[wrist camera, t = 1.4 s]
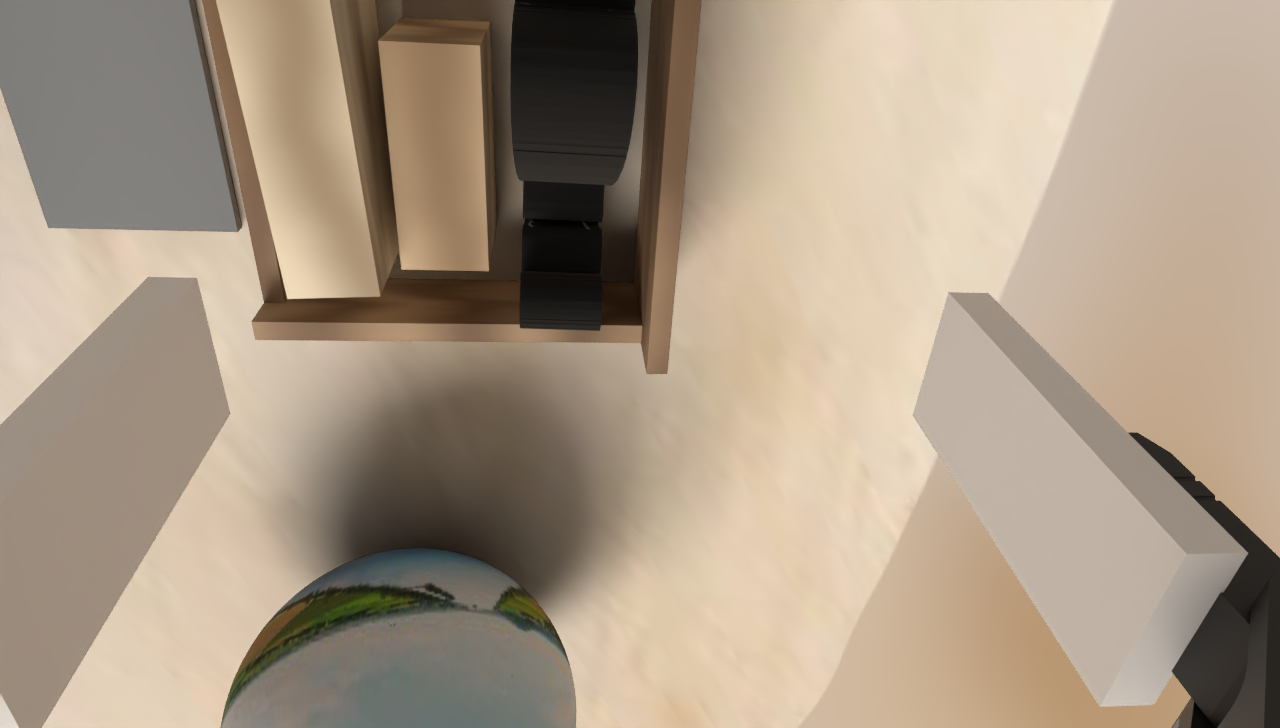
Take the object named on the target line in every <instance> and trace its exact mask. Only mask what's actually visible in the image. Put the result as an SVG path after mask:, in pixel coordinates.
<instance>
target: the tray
mask: <svg viewBox="0 0 1280 728" xmlns="http://www.w3.org/2000/svg"><path fill="white" fill-rule="evenodd" d="M202 1H203V6H204V11H205V16H206V21H207V26H208V31H209V36H210V40H211V45H212V50H213V55H214V60H215V65H216V70H217V75H218V80H219V84H220V89H221V94H222V99H223V104H224V109H225V114H226V119H227V124H228V128H229V133H230V138H231V143H232V148H233V153H234V158H235V163H236V168H237V172H238V177H239V182H240V187H241V192H242V197H243V202H244V207H245V212H246V216H247V221H248V226H249V231H250V236H251V241H252V246H253V251H254V256H255V260H256V265H257V270H258V275H259V280H260V285H261V290H262V295H263V300H264V304H263V305H262V307H261V308H260V310H259V311H258V313H257V314H256V316H255V317H254V319H253V320H252V326H253V331H254V336H255V340H343V341H475V342H608V343H641V345H642V351H643V356H644V362H645V368H646V373H647V374H667V370H668V359H669V348H670V337H671V326H672V315H673V304H674V293H675V282H676V272H677V261H678V250H679V239H680V228H681V217H682V206H683V195H684V184H685V173H686V162H687V152H688V141H689V130H690V119H691V108H692V97H693V86H694V75H695V64H696V53H697V42H698V31H699V21H700V10H701V0H652V3H651V19H650V35H649V51H648V67H647V84H646V100H645V116H644V132H643V148H642V164H641V180H640V196H639V212H638V228H637V244H636V261H635V277H634V283H624V282H602V285H603V293H602V319H601V328H600V331H586V330H555V329H524V328H520V323H519V322H520V321H519V308H520V281H495V280H431V279H387V282H386V284H385V286H384V289H383V291H382V294H381V296H380V297H344V298H306V299H287V295H286V291H285V287H284V283H283V278H282V274H281V270H280V266H279V262H278V258H277V253H276V249H275V245H274V241H273V237H272V233H271V228H270V224H269V220H268V216H267V212H266V207H265V203H264V199H263V195H262V191H261V187H260V182H259V178H258V174H257V170H256V166H255V162H254V157H253V153H252V149H251V145H250V141H249V136H248V132H247V128H246V124H245V120H244V116H243V111H242V107H241V103H240V99H239V95H238V91H237V86H236V82H235V78H234V74H233V70H232V65H231V61H230V57H229V53H228V49H227V45H226V40H225V36H224V32H223V28H222V24H221V20H220V15H219V11H218V7H217V3H216V0H202Z"/></svg>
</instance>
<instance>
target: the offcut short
mask: <svg viewBox="0 0 1280 728" xmlns="http://www.w3.org/2000/svg"><path fill="white" fill-rule="evenodd" d="M378 44H379V54H380V64H381V74H382V84H383V94H384V104H385V114H386V123H387V133H388V143H389V153H390V163H391V173H392V183H393V192H394V202H395V212H396V222H397V232H398V242H399V252H400V262H401V270H449V271H489V268H490V262H491V256H492V250H493V244H494V238H495V231H496V225H497V216H496V186H495V156H494V125H493V95H492V65H491V34H490V22H485V21H465V20H446V19H426V18H406V17H402V18H401V19H400V20H399V21H398V22H397V23H396V24H395V25H394V26H393V27H392V28H391V29H390V30H389V31H388V32H386V33H385V34H384V35H383V36H382V37H381V38H380V39H379V40H378Z"/></svg>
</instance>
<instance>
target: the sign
mask: <svg viewBox="0 0 1280 728" xmlns="http://www.w3.org/2000/svg"><path fill="white" fill-rule="evenodd" d="M635 1H636V0H515V4H514V14H513V24H512V43H511V125H512V142H513V153H514V162H515V167H516V172H517V175H518V178H519V180H521V181H524V186H523V218H525V223H524V225H523V238H522V271H521V278H520V308H519V321H520V322H519V323H520V328H524V329H555V330H586V331H600V328H601V319H602V293H603V285H602V274H600V272H601V248H602V230H601V228H600V227H599V226H598V222H602V219H603V201H604V185H613V184H614V183H615V182H616V181H617V180H618V178H619V176H620V173H621V171H622V169H623V166H624V163H625V160H626V156H627V152H628V147H629V143H630V138H631V132H632V126H633V118H634V111H635V101H636V89H637V72H638V36H637V24H636V17H635V12H634V7H635Z"/></svg>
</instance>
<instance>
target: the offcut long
mask: <svg viewBox="0 0 1280 728" xmlns="http://www.w3.org/2000/svg"><path fill="white" fill-rule="evenodd" d="M216 3H217V7H218V11H219V15H220V20H221V24H222V28H223V32H224V36H225V40H226V45H227V49H228V53H229V57H230V61H231V65H232V70H233V74H234V78H235V82H236V86H237V91H238V95H239V99H240V103H241V107H242V111H243V116H244V120H245V124H246V128H247V132H248V136H249V141H250V145H251V149H252V153H253V157H254V162H255V166H256V170H257V174H258V178H259V182H260V187H261V191H262V195H263V199H264V203H265V207H266V212H267V216H268V220H269V224H270V228H271V233H272V237H273V241H274V245H275V249H276V253H277V258H278V262H279V266H280V270H281V274H282V278H283V283H284V287H285V291H286V295H287V299H306V298H344V297H380V296H381V294H382V291H383V289H384V286H385V284H386V282H387V279H388V277H389V274H390V272H391V269H392V267H393V264H394V262H395V259H396V257H397V254H398V252H399V242H398V232H397V222H396V212H395V202H394V192H393V183H392V173H391V163H390V153H389V143H388V133H387V123H386V114H385V104H384V94H383V84H382V74H381V64H380V54H379V44H378V40H379V39H380V33H379V26H378V19H377V12H376V5H375V0H216Z"/></svg>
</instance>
